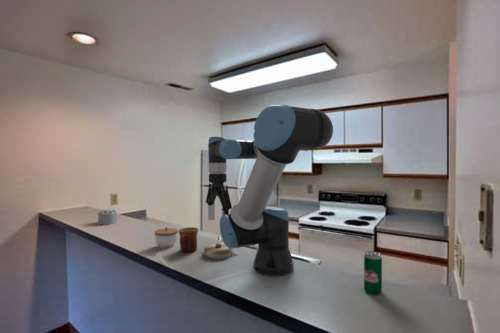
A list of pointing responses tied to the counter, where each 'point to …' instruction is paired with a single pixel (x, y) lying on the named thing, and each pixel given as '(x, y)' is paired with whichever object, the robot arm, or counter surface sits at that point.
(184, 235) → the mug
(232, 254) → the mat
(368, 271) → the soda can
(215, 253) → the lid
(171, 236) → the lidded jar
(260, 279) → the counter surface
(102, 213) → the lumpy-topped squat cylinder
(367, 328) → the counter surface
